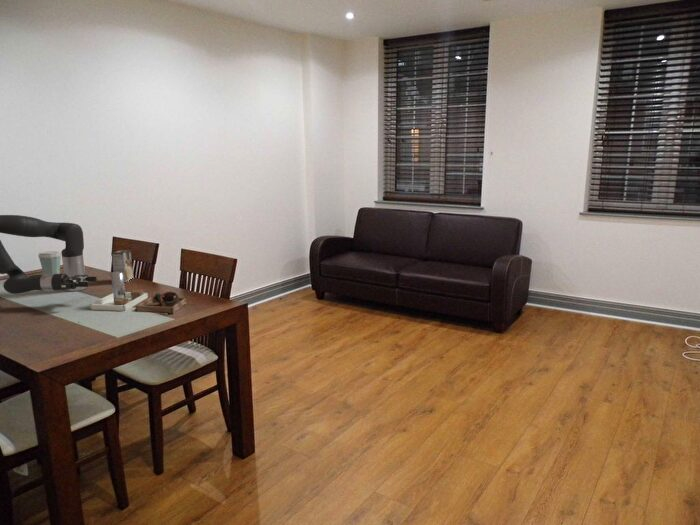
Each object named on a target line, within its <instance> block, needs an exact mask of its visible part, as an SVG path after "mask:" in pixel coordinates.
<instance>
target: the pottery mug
mask: <svg viewBox="0 0 700 525" xmlns="http://www.w3.org/2000/svg"><path fill="white" fill-rule="evenodd" d="M153 297H154V299H155V300H156V301H157V302H156V303H158V305H159V306H161V307H173V306H174V305H176V304H177V303H179V302H180V300H179V299H178V298H180V296H179V295H178V294H177V292H174V291H171V290H168V291H164V292H162V293H156V294H154V295H153ZM174 297H176V299H173V298H174Z"/></svg>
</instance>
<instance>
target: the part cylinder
mask: <svg viewBox="0 0 700 525" xmlns="http://www.w3.org/2000/svg"><path fill="white" fill-rule="evenodd" d="M110 278H111V286H112V287H111V288H112V293H113V299H114V300H116V299H119V298H126V296H125V292H126V289H125V283H124V276H123V272H114V271H112V272H111V273H110ZM114 304H115V303H114Z"/></svg>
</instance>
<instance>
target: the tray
mask: <svg viewBox="0 0 700 525" xmlns="http://www.w3.org/2000/svg"><path fill="white" fill-rule="evenodd" d="M131 292H132V291H129V292H128V291H127V292H126V291H125V296H126V298H128V300H129V303H127V304H125V305H115V304H114V299H113V292H112V293H109V294H108V295H106V296H104V297H102V298H100V299H98V300H95V301H94V302H92V303H90V304H89V310H94V311H96V310H97V311H116V312H117V311H118V312H119V311H120V312H125V311H127V310H130V309H131V308H132V307H134V306H137V305H139V304H141V303H142V302H144V301H146V300H147V299H149V296H148V295H149V294H148V292H143V295H141V296H140V297H138V298H136V299H134V300H132V298H131Z"/></svg>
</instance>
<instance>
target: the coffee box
mask: <svg viewBox="0 0 700 525" xmlns="http://www.w3.org/2000/svg"><path fill="white" fill-rule="evenodd" d="M111 261H112V270H113V271H112V272H123V276H124V282H127V281H128V282H130V281H131V280H130V279H132V278H133V279H135V276H134V271H133V270H134V269H133V259H132V250H131V249H119V250H116V251H114V252H111ZM133 279H132V280H133ZM129 280H130V281H129ZM128 282H127V283H128Z"/></svg>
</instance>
